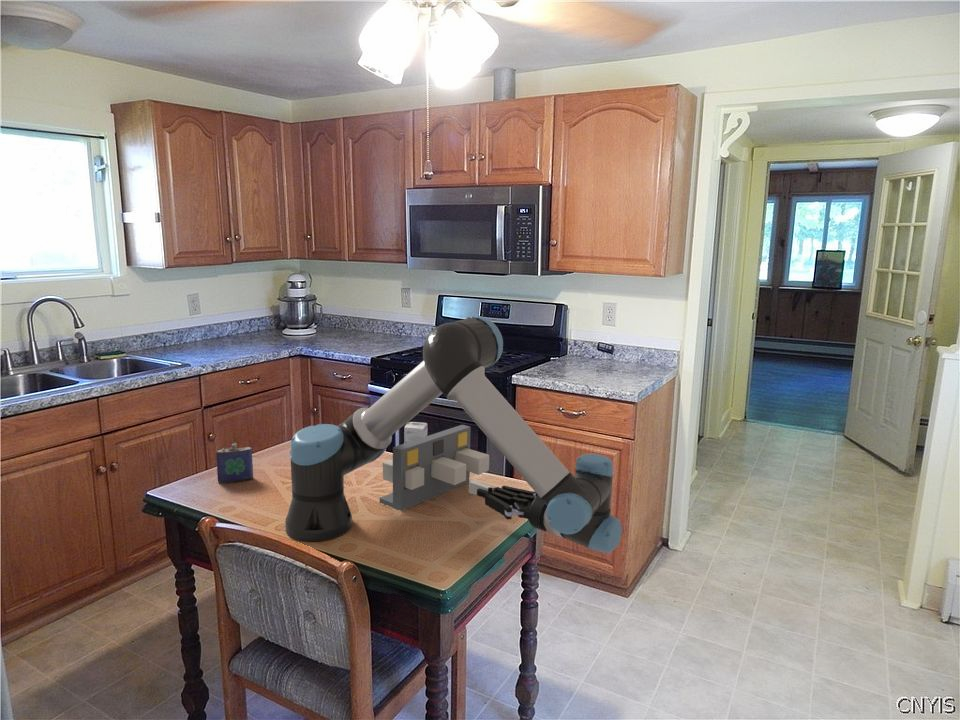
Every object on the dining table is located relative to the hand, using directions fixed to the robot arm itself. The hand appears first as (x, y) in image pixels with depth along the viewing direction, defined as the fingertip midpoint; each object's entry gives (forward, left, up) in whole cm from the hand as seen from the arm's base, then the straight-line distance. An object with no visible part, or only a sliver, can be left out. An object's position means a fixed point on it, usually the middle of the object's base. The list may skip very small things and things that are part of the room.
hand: (470, 486), depth 154 cm
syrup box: (+13, +32, -9) cm, 35 cm away
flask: (-25, +64, -9) cm, 69 cm away
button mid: (+5, +13, -3) cm, 14 cm away
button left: (-5, +19, -3) cm, 19 cm away
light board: (+5, +19, -8) cm, 22 cm away
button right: (+14, +13, -3) cm, 19 cm away
